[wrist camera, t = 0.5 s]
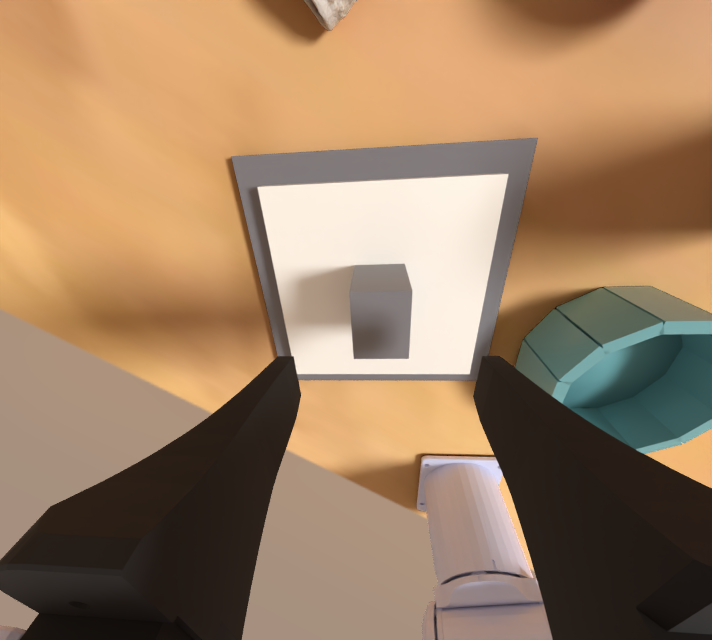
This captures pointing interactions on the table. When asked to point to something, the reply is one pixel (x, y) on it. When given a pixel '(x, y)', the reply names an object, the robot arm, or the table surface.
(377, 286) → the lid
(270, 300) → the mat
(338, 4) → the washcloth
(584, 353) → the bowl
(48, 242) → the table surface
